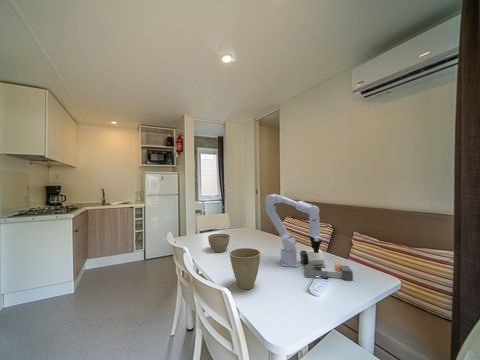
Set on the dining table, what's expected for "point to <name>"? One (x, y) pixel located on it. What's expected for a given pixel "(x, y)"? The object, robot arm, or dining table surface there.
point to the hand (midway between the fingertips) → (315, 250)
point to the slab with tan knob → (334, 271)
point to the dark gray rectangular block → (347, 273)
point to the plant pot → (245, 266)
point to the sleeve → (313, 271)
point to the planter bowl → (218, 242)
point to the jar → (312, 257)
